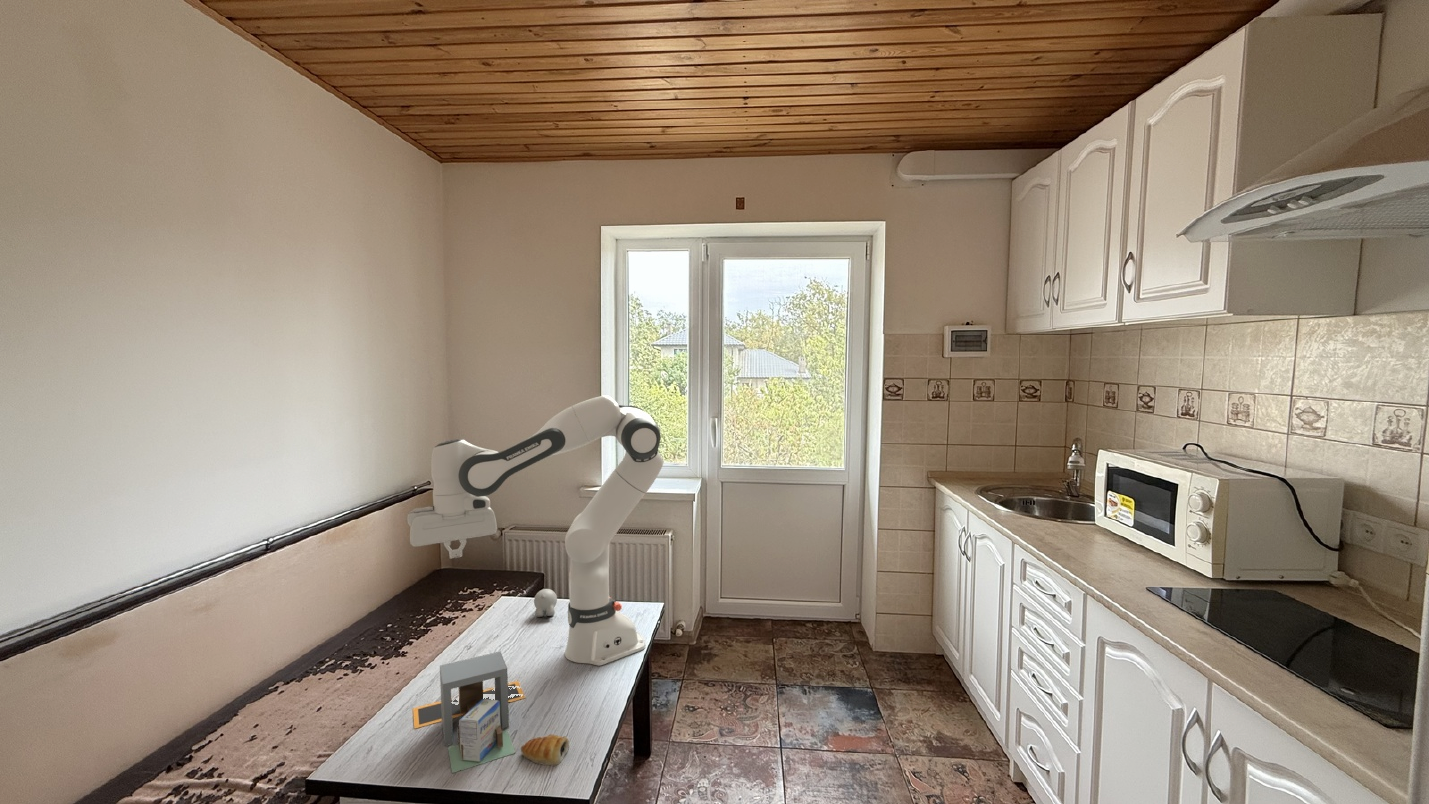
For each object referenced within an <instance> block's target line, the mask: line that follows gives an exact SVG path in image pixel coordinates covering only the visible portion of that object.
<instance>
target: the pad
mask: <svg viewBox="0 0 1429 804" xmlns="http://www.w3.org/2000/svg"><path fill="white" fill-rule="evenodd" d="M502 733H503V747H500V748H498V747H497V743H496V744H495V745H494V746H493V747H492V749H491V750H490V751H489V752H488V753H487V754H486V755H485V757H484V758H483V759H482V760H481V761H480V762H478V761H468V760H462V759H461V753H460V748H459V743H458V744H455V745H452V746H451V745H450V746H448V747H447V749H448V757H449V762H450V768H451V773H452V774H455V773H457V772H461V771H464V770H467V769H470V768H473V767H475V766H479V765H483V764H485V763H488V762H491V761H495V760H497V759H501V758H505V757H507V756H511V755H514V754H516V751H515V748H514V745H513V742H512V739H511V735H510V734H509V733H510V732H509V730H508V729H505V730H502ZM460 770H461V771H460Z"/></svg>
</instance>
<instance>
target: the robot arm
mask: <svg viewBox="0 0 1429 804" xmlns="http://www.w3.org/2000/svg"><path fill="white" fill-rule="evenodd" d="M609 436H611V437H615V438H616V440H617V442H618V443H619V444H620V445H621V446H622V447H623V448H624V450H625V453H624V456H623V458H622V460H621V461H620V462H619V464H618V465H617V466H616V467H615V468H614V470H613V471H612V473H611V474H610V475H609V476H608V478H607V479H606V480H605V481H604V483H603V484H602V485H601V486H600V487H599V489H598V490H597V491H596V493H595V494H594V496H593V497H592V499H590V501H589V503H587V505H586V507H584V509H583V510H582V512H580V513H578V515H577V516H575V518H574V519H573V521H572V523H571V524H570V527H569V528H568V530H567V533H565V538H564V546H565V547H564V549H565V552H566V554H567V556H568V557H569V558H570V559H569V560H570V561H569V575H568V584H569V585H568V586H569V587H568V588H569V602H568V605H567V607H568V608H567V622H568V626H569V629H568V636H567V642H566V647H565V650H564V651H565V652H564V656H565V657H566V659H567V660H569V661H571V662H574V663H578V664H591V665H594V666H603V665H605V664H609V663H611V662H613V661H617V660H618V659H619V660H620V659H622V658H625V657H627V656H630V655H632V654H634V653H637V652H640V651H642V650H644V649H645V648H646V641H645V638H644V637H643V636H642V634H640V633H639V632H638V631H637V628H636V625H635V623H634V622H633V620H632V619H630V617H628V616H627V615H625V614H623V613H622V612H620V611H621V610H622V607H623V606H622V604H621V603H620V602H619V601H616V599H614V598H612V597H611V596H610V543H611V541H612V540H613V538H614V537H615V536H616V535H617V533H618V532H619V530H620V528H621V527H622V526H623V524H624V522H625V521H626V520H627V518H628V517H629V516H630V514H631V513H632V512H633V510H634V509H635V507H637V505H638V504H639V503H640V501H641V500H642V499H643V497H644V496H645V495H646V493H648V491H649V489H650V488H651V487H652V485H653V484H654V482H655V481H656V479H657V477H658V475H659V474H660V472H661V470H662V468H663V465H664V462H663V461H664V460H663V458H662V455H661V454H660V452H659V447H660V443H661V436H662V435H661V430H660V428H659V426H658V424H657V423H656V422H655V420H654V418H653V417H651V415H650V414H648V413H647V412H645V410H643V408H640V407H638V406H635V405H622V404H620V405H619V404H618V402H617V401H616V400H615V399H613V397H611V396H610V395H599V396H596V397H592V398H589V399H587V400H583V401H580V402H578V403H576V404H573V405H571V406H568V407H566V408H565V409H563V410H562V411H560V412H558V413H557V414H555V415H554V416H552V417H551V418H550V419H549V420H547V421H546V422H545V424H544V425H543V426H542V427H541V428H540V429H539V430H538V431H536V432H535V433H534V434H533V435H531V436H530V437H528V438H526V439H525V440H521V441H520V442H518V443H516V444H514V445H512V446H510V447H507V448H506V449H504V450H503V449H502V450H501V451H497V450H494V449H488V448H484V447H480V446H477V445H474V444H472V443H470V442H468V441H466V439H463V438H454V439H450V440H446V441H443V442H441V443H438V444H437V445H435V446H434V447H433V449H432V452H431V458H430V459H431V461H430V462H431V463H430V466H431V467H430V470H431V479H432V481H433V489H432V502H433V505H430V506H425V507H416V508H413V509H412V510H411V511H409V512H408V514H407V517H406V521H407V522H406V523H407V525H408V527H410V529H409V531H410V532H409V542H410V543H409V544H410V545H411V546H412V547H415V548H416V547H422V546H429V545H434V544H442V543H443V545H444V547H445V549H446V550H447V551H448V554H449V559H454V558H455V559H457V558H461V557H463V550H464V548H465V546H466V544H467V539H472V538H479V537H483V536H491V535H495V534H496V532H497V531H498V525H497V524H498V523H497V519H496V515H495V512H494V510H493V508H491V500H490V498H489V497H488V496H490V495H491V494H493V493H495V492H496V491H497V490H498V489H499V488H501V486H502V485H503V484H504V482H505V481H506V480H507V479H508V478H510V477H511V476H513V475H514V474H516V473H518V472H520V471H522V470H524V469H526V468H528V467H530V466H532V465H534V464H536V463H538V462H540V461H541V460H545V459H547V458H550V457H553V456H556V455H561V454H564V453H567V452H571V451H574V450H577V449H579V448H582V447H585V446H586V445H589V444H591V443H593V442H595V441H597V440H599V439H601V438H604V437H609ZM453 541H454V542H455V541H459V543H460V545H459V547H458V548H456V549H452V548H451V547H450V546H451V544H452V543H451V542H453Z"/></svg>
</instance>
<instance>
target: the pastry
mask: <svg viewBox="0 0 1429 804" xmlns="http://www.w3.org/2000/svg"><path fill="white" fill-rule="evenodd" d="M569 749H570V742H569V739H568V738H567V737H566V736H559V735H554V734H549V735H547V736H538V737H535V738H532V739H529V740H528V741H526V742H525V744H523V745H522V746H521V747H520V750H521V751H520V752H521V753H522V755H523V757H524V758H525V759H528V760H530V761H531V762H533V763H534V764H539V765H545V766H554V767H555V766H558V765H559V764H560V763H562V761H563V759H564V757H565V755H566V753H568V751H569Z"/></svg>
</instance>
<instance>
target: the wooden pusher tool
mask: <svg viewBox="0 0 1429 804" xmlns="http://www.w3.org/2000/svg"><path fill="white" fill-rule="evenodd" d="M483 682H484V681H481V682H477V683H473V684H469V685H465V686H461V687H458V696H459V708H460V713H464V712H469V711H470V710H471V709H472V708H473V707H474V706H475V705H476V704H477V703H478V702H480V701H481V700H482V699H483V690H484V685H483V684H484V683H483ZM502 731H503V729H502V727H501V724H500V725H499V726H498V727H497V728H496V743H497V747H498V748H500V747H503V733H502ZM457 742H458V744H459V748H460V728H459V725H457ZM460 753H461V759H463V745H462V744H461V749H460Z"/></svg>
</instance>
